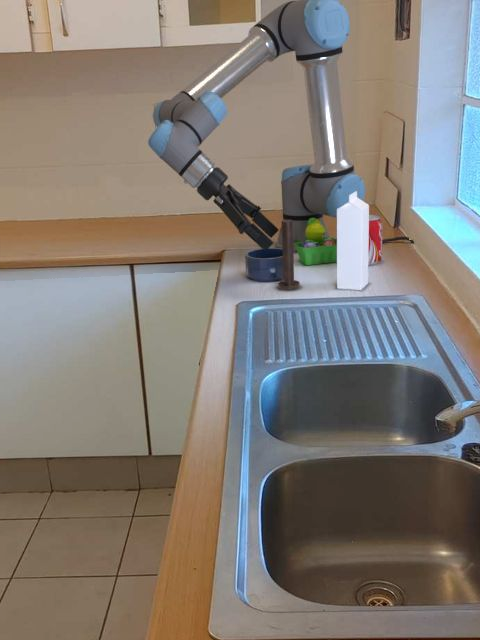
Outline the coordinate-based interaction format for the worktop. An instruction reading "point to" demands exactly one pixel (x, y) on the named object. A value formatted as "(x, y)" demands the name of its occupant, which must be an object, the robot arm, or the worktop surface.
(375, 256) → the soda can
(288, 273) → the brown post with base
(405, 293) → the worktop surface
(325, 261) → the fruit basket
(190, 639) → the worktop surface
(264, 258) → the bowl
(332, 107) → the robot arm
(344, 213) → the milk
